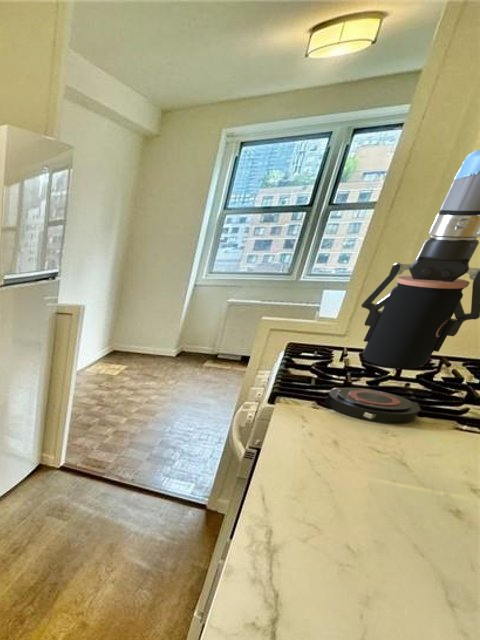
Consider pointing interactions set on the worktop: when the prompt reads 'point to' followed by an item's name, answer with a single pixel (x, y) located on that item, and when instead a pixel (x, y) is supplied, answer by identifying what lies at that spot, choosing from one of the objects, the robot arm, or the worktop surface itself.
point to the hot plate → (372, 405)
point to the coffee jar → (413, 322)
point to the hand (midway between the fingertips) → (400, 345)
